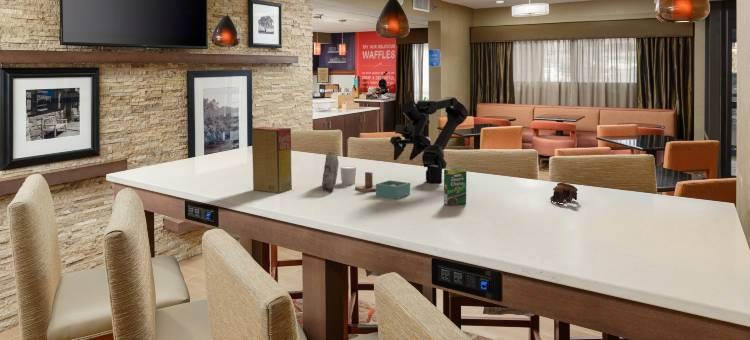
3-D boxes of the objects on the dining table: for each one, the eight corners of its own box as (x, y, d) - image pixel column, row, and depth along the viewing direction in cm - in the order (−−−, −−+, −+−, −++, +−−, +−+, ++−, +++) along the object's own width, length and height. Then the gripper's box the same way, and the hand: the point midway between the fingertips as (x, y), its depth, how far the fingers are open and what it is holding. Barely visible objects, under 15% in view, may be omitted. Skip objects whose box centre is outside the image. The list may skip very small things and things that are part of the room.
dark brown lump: (543, 201, 214) (550, 181, 215) (564, 212, 216) (571, 192, 217) (561, 200, 202) (568, 179, 204) (583, 211, 204) (590, 190, 206)
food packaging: (293, 189, 233) (291, 127, 228) (278, 193, 225) (277, 129, 220) (267, 186, 239) (265, 126, 235) (252, 190, 231) (249, 128, 227)
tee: (372, 187, 238) (372, 170, 237) (382, 190, 231) (382, 173, 230) (355, 189, 234) (355, 172, 232) (365, 192, 227) (365, 175, 226)
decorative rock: (323, 184, 243) (323, 149, 240) (339, 184, 243) (339, 149, 240) (320, 192, 227) (319, 154, 224) (336, 192, 227) (336, 154, 224)
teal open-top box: (389, 191, 229) (389, 180, 229) (410, 194, 224) (410, 182, 223) (375, 195, 222) (375, 184, 221) (396, 198, 216) (397, 186, 215)
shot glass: (354, 185, 242) (354, 168, 241) (338, 184, 243) (338, 168, 242) (358, 182, 248) (357, 166, 247) (342, 181, 250) (342, 165, 249)
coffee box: (446, 206, 204) (447, 169, 202) (442, 204, 207) (443, 168, 205) (466, 204, 207) (467, 168, 205) (462, 202, 210) (463, 167, 208)
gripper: (388, 117, 238) (374, 149, 233) (420, 114, 224) (405, 149, 219) (405, 132, 244) (391, 163, 239) (437, 130, 230) (423, 163, 225)
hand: (402, 159), depth 230 cm, fingers open, 9 cm apart
